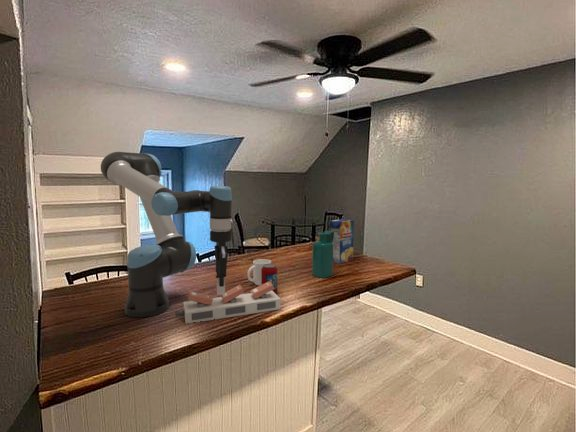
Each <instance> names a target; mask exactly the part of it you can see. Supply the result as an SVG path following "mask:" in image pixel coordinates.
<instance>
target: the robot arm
mask: <svg viewBox="0 0 576 432" xmlns="http://www.w3.org/2000/svg"><path fill="white" fill-rule="evenodd" d="M100 172H101V174H102V176H103V177H104V179H106V180H107V181H109V182H110V183H111V184H114V185H117V186H118V185H120V186H122V187H123V188H125V189H127V190H128V191H130V192H131V193H133V194H135V195H136V196H138V197H139V198H140V201H141V203H142V206H143V208H144V211H145V214H146V217H147V219H148V221H149V224H150V227H151V229H152V231H153V234H154V237H155V240H156V243H155V244H148V245H142V246H138V247H135V248H133V249H131V250H130V251H129V252H128V253H127V255H126V267H127V280H128V295H127V298H126V301H125V304H124V314H125V315H126V316H127V315H128V316H127V317H130V316H131V318H148V317H153V316H156V315H159V314H162V313H163V312H166V311H167V310H168V309H169V308H170V303H169V302H170V301H169V297H168V296H167V293H166V290H165V289H164V282H163V281H164V278H167V277H171V276H173V275H176V274H179V273H181V274H182V273H183V272H184V273H185V272H186V271H188V270H190V269H192V268H193V267H194V265H195V263H196V260H197V250H196V247H195V246H194V244H193V243H191V242H190V241H186V239H185V238H184V235H182V234H180V233H179V232H178V230H177V227H176V225H175V222H174V220H173V217H172V216H173V215H181V214H189V213H199V212H205V213H209V229H210V232H209V240H210V241H211V242H213V243H215V245H214V253H215V255H214V256H215V273H216V275H215V279H216V295H217V296H221V295H223V294H225V292H226V277H227V269H228V268H227V267H228V266H227V265H228V255H229V253H228V246H227V244H226V243H228V242H230V241H232V239H233V238H232V230H231V229H232V224H233V223H234V220H232V210H233V209H232V205H233V197H232V196H233V195H232V194H233V193H232V188H231V187H230V186H224V185H223V186H222V185H221V186H220V185H212V186H210V188H209V191H208V190H207V191H206V190H199V189H195V190H192V189H191V190H188V191H187V190H186V191H174V190H172V189H170V188H168V187H166V186H164V185H163V184H161V183H160V180H161V176H162V173H163V172H162V164H161V162H160V160H159V159H158V158H157V157H156V156H155V155H154V154H151V153H146V152H138V153H137V152H127V151H115V152H111V153H108V154H107V155H106V156H105V157H104V158H103V159H102V161H101V163H100Z"/></svg>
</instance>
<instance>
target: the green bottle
mask: <svg viewBox="0 0 576 432" xmlns="http://www.w3.org/2000/svg"><path fill="white" fill-rule="evenodd" d="M317 235H318V236H319V239H318V241H314V242H313V243H312V253H311V254H312V255H311V256H312V262H311V263H312V266H311V267H312V269H311V270H312V271H311V272H312V273H311V274H312V276H314V277H317V278H320V279H325V278H329V277H332V276H333V273H334V269H333V268H334V262H333V243H332V242H333V239H334V232H332V231H330V230H324V231H319V232H317Z"/></svg>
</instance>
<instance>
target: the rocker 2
mask: <svg viewBox="0 0 576 432" xmlns="http://www.w3.org/2000/svg"><path fill="white" fill-rule="evenodd" d="M241 294H246V293H245V291H244V288H243V287H242V285H241V284H238V285H236V286H234V287H232V288H230V289H229V290H226V291H225V294H223V295H220V297H222V299H223V301H224V303H226V302H228V301H230V300H232V299H234V298H235V297H237V296H239V295H241Z"/></svg>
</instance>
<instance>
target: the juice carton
mask: <svg viewBox="0 0 576 432" xmlns="http://www.w3.org/2000/svg"><path fill="white" fill-rule="evenodd" d="M354 226H355V220H354V219H347V218H340V219H335V220H334V219H333V220H330V230H329V231H332V232H334V239H333V242H332V243H333V263H335V264H339V265H341V264H344V262H345V263H348V261H349V262H352V261H354V233H355V232H354V231H355V230H354V229H355V227H354Z"/></svg>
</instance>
